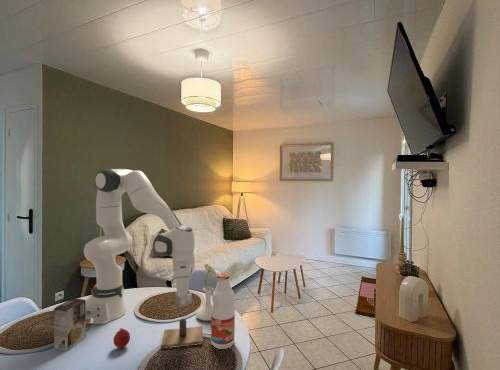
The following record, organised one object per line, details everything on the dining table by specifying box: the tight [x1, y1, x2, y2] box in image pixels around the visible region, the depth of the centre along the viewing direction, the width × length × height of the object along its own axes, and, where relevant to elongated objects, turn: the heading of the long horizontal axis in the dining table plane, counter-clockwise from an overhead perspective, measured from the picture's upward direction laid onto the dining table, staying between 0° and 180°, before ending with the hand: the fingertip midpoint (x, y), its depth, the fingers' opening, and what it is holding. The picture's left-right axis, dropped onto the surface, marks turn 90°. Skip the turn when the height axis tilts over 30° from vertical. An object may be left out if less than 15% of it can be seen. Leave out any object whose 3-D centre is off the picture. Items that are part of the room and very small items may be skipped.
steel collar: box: [174, 289, 193, 307], centre depth 110 cm, size 6×6×4 cm
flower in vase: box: [195, 263, 217, 322], centre depth 129 cm, size 13×11×25 cm
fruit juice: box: [210, 272, 236, 350], centre depth 108 cm, size 9×9×28 cm
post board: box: [160, 318, 204, 349], centre depth 110 cm, size 16×11×9 cm
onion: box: [113, 327, 131, 349], centre depth 104 cm, size 6×6×8 cm
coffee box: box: [53, 297, 87, 352], centre depth 106 cm, size 9×6×16 cm
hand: (183, 298), depth 110 cm, fingers closed on steel collar, 6 cm apart
